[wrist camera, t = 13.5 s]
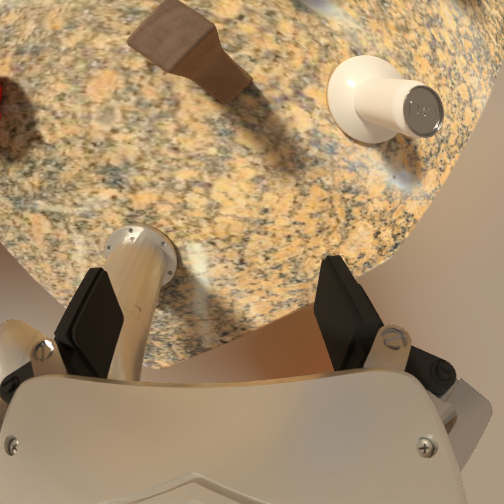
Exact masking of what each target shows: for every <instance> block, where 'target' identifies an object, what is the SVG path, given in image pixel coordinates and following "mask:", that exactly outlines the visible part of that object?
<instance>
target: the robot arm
mask: <svg viewBox="0 0 504 504" xmlns="http://www.w3.org/2000/svg"><path fill="white" fill-rule="evenodd" d="M105 258H106V261H105V263H104V265H103V267H102V268H101V267H100V268H90V269H89V270H88V272H87V274H86V275H85V277H84V279H83V280H82V282H81V284H80V286H79V287H78V289H77V291H76V293H75V294H74V296H73V298H72V300H71V302H70V303H69V305H68V307H67V309H66V311H65V313H64V315H63V317H62V319H61V321H60V323H59V325H58V327H57V329H56V331H55V333H54V334H55V338H54V340H53V339H52V338H48V337H47V336H45V335H44V334H42V333H41V332H39V331H38V330H36V329H35V328H33V327H32V326H30V325H28V324H27V323H25V322H23V321H20V320H17V319H10V320H7V321H5V322H4V323H2V325H0V504H467V500H466V495H465V490H464V485H463V481H462V477H461V473H460V472H461V470H462V469H463V467H464V466H465V464H466V463H467V461H468V459H469V458H470V456H471V454H472V453H473V451H474V449H475V447H476V446H477V444H478V442H479V440H480V438H481V437H482V434H483V433H484V431H485V429H486V427H487V425H488V422H489V420H490V418H491V416H492V406H491V403H490V402H489V401H488V400H487V399H486V398H485V397H484V396H482V395H481V394H480V393H479V392H477V391H476V390H475V389H474V388H473V387H471V386H470V385H469V384H468V383H466V382H465V381H464V380H463V379H462V378H461V379H460V380H458V379H457V378H456V372H455V369H454V368H453V366H452V365H451V364H450V363H449V362H447V361H446V360H443V359H441V358H439V357H436V356H434V355H432V354H430V353H427V352H425V351H423V350H421V349H418V348H416V347H414V346H412V345H411V342H412V341H411V337H410V335H409V333H408V332H407V331H406V330H405V329H404V328H402V327H400V326H397V325H385V326H384V324H383V322H382V321H381V319H380V317H379V315H378V313H377V312H376V310H375V308H374V307H373V305H372V303H371V301H370V300H369V298H368V296H367V295H366V293H365V291H364V290H363V288H362V287H361V285H360V284H358V283H357V282H356V280H355V279H354V277H353V275H352V274H351V272H350V270H349V269H348V267H347V265H346V264H345V262H344V261H343V259H342V257H341V256H340V255H336V256H327V257H326V259H325V260H322V263H321V269H320V275H319V281H318V286H317V292H316V297H315V303H314V314H315V316H316V319H317V322H318V325H319V327H320V330H321V333H322V336H323V339H324V342H325V344H326V348H327V350H328V353H329V356H330V359H331V362H332V365H333V368H334V371H335V372H328V373H322V374H314V375H307V376H298V377H290V378H282V379H271V380H260V381H246V382H227V383H155V382H141V371H142V363H143V358H144V353H145V348H146V344H147V340H148V336H149V332H150V328H151V324H152V320H153V316H154V312H155V308H156V306H158V305H159V301H158V297H159V293H160V290H161V287H162V286H164V285H165V284H167V283H168V282H169V281H170V280H171V279H172V278H173V276H174V274H175V271H176V268H177V254H176V251H175V248H174V246H173V245H172V243H171V242H170V240H169V239H168V238H167V237H166V236H165V235H164V234H163V233H161V232H160V231H159V230H157V229H155V228H153V227H151V226H148V225H145V224H139V223H130V224H126V225H123V226H121V227H119V228H117V229H116V230H115V231H113V233H112V234H111V235H110V237H109V238H108V240H107V242H106V245H105Z"/></svg>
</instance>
